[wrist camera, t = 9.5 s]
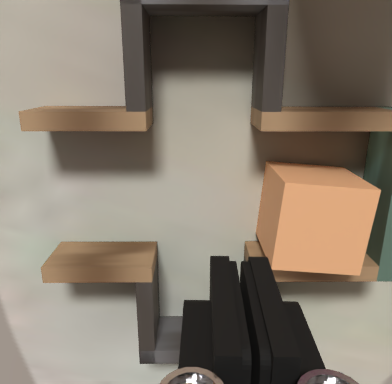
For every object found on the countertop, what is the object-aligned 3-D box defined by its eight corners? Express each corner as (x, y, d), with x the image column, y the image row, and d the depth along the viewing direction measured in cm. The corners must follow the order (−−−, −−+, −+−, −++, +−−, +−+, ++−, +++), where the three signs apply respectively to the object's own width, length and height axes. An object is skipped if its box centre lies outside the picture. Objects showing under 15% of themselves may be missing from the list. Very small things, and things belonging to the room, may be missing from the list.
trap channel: (407, -3, 20) (449, -19, 17) (354, 326, 27) (377, 361, 24) (31, -5, 20) (-1, -21, 17) (71, 328, 27) (54, 364, 24)
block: (342, 166, 24) (381, 190, 19) (327, 237, 25) (359, 275, 20) (266, 160, 23) (285, 182, 19) (255, 232, 25) (270, 269, 20)
